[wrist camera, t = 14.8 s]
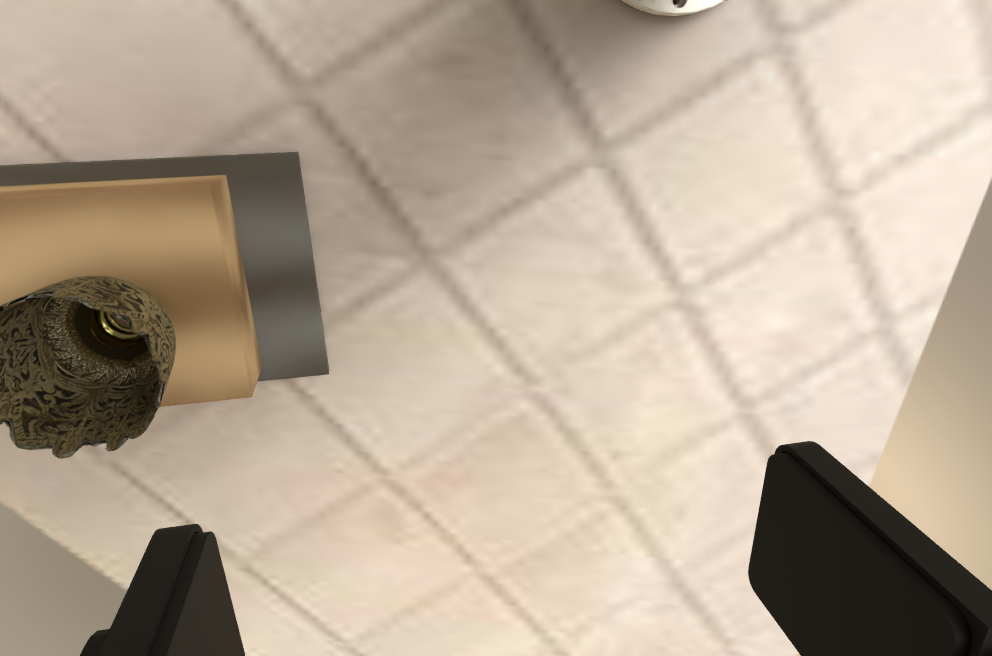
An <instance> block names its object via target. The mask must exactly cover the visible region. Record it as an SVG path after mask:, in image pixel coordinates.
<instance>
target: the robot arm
mask: <svg viewBox="0 0 992 656" xmlns="http://www.w3.org/2000/svg"><path fill="white" fill-rule="evenodd" d="M621 1H623V2H625V3H627V4H628V5H630V6H632V7H634V8H636V9H638V10H640V11H644V12H647V13H651V14H654V15H662V16H680V15H688V14H694V13H698V12H701V11H704V10H708V9H711V8H713V7H715V6H717V5H719V4H721V3H723V2H725V1H726V0H676V4H675V5H673V0H621ZM748 575H749V580H750V584H751V586H752V588H753V590H754V592H755V593H756V595H757V596H758V597H759V599H760V600H761V602H762V603H763V604H764V606H765V607H766V608H767V610H768V611H769V613H770V614H771V615H772V617H773V618H774V619H775V621H776V622H777V623H778V625H779V626H780V628H781V629H782V630H783V632H784V633H785V634H786V636H787V637H788V639H789V640H790V641H791V643H792V644H793V645H794V647H795V648H796V649H797V651H798V652H799V654H800V655H801V656H992V590H990V589H989V588H988V587H987V586H986V585H984V584H983V583H982V582H981V581H980V580H978V579H977V578H976V577H975V576H974V575H973V574H971V573H970V572H969V571H968V570H967V569H965V568H964V567H963V566H962V565H961V564H960V563H958V562H957V561H956V560H955V559H953V558H952V557H951V556H950V555H949V554H948V553H947V552H945V551H944V550H943V549H942V548H940V547H939V546H938V545H937V544H936V543H935V542H934V541H932V540H931V539H930V538H929V537H927V536H926V535H925V534H924V533H923V532H922V531H921V530H919V529H918V528H917V527H916V526H915V525H913V524H912V523H911V522H910V521H909V520H908V519H906V518H905V517H904V516H903V515H902V514H900V513H899V512H898V511H896V509H895V508H893V507H892V506H891V505H890V504H888V503H887V502H886V501H885V500H884V499H883V498H881V497H880V496H879V495H878V494H877V493H876V492H874V491H873V490H872V489H871V488H870V487H868V486H867V485H866V484H865V483H864V482H863V481H861V480H860V479H859V478H858V477H857V476H855V475H854V474H853V473H852V472H851V471H850V470H848V469H847V468H846V467H845V466H844V465H842V464H841V463H840V462H839V461H838V460H837V459H835V458H834V457H833V456H832V455H831V454H829V453H828V452H827V451H826V450H825V449H824V448H822V447H821V446H820V445H819V444H817V443H815V442H812V441H807V442H800V443H792V444H785V445H781V446H779V447H778V448H777V449H776V451H775V454H774V455H771V456H770V457H769V459H768V462H767V467H766V473H765V479H764V484H763V490H762V495H761V501H760V507H759V512H758V518H757V524H756V529H755V535H754V540H753V546H752V552H751V557H750V563H749V569H748ZM80 656H245V652H244V648H243V645H242V641H241V637H240V633H239V629H238V625H237V621H236V617H235V613H234V609H233V605H232V601H231V597H230V593H229V589H228V585H227V581H226V577H225V573H224V569H223V565H222V561H221V557H220V553H219V549H218V545H217V541H216V537H215V535H214V533H213V532H205V533H203V531H202V529H201V527H200V526H199V525H198V524H191V525H184V526H177V527H169V528H162V529H158V530H156V531H155V533H154V534H153V536H152V538H151V540H150V542H149V545H148V547H147V549H146V551H145V553H144V555H143V558H142V560H141V562H140V564H139V566H138V569H137V571H136V573H135V575H134V577H133V580H132V582H131V584H130V586H129V588H128V590H127V593H126V595H125V597H124V599H123V602H122V604H121V606H120V608H119V610H118V613H117V615H116V617H115V619H114V621H113V624H112V626H111V628H110V629H106V630H100V631H97V632H95V633H94V634H93V635H92V636H91V637H90V638H89V640H88V641H87V643H86V645H85V646H84V648H83V650H82V652H81V654H80Z"/></svg>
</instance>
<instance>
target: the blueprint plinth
mask: <svg viewBox="0 0 992 656" xmlns="http://www.w3.org/2000/svg"><path fill="white" fill-rule="evenodd" d="M84 276H107V277H113V278H118V279H121V280H125V281H128V282H130V283H133V284H135V285H137V286H139V287H141V288H142V289H144V290H146V291H147V292H148V293H150V294H151V295H152V296H153V297H154V298H155V299H157V300H158V302H159V303H160V304H161V305H162V306H163V308H164V309H165V310H166V312H167V314H168V315H169V317H170V320H171V322H172V324H173V327H174V331H175V337H176V352H175V359H174V363H173V367H172V371H171V374H170V377H169V380H168V383H167V386H166V389H165V391H164V394H163V397H162V402H161V406H160V407H162V406H171V405H181V404H190V403H200V402H209V401H219V400H228V399H238V398H247V397H252V394H253V391H254V388H255V386H256V383H257V381H266V380H276V379H286V378H296V377H305V376H315V375H325V374H329V366H328V359H327V352H326V345H325V338H324V331H323V324H322V317H321V310H320V303H319V296H318V289H317V282H316V275H315V268H314V261H313V253H312V246H311V239H310V232H309V225H308V218H307V211H306V204H305V197H304V190H303V183H302V176H301V169H300V162H299V155H298V152H288V153H266V154H244V155H222V156H200V157H178V158H156V159H133V160H111V161H89V162H67V163H45V164H23V165H1V166H0V306H2V305H3V304H5V303H7V302H9V301H11V300H14V299H16V298H19V297H22V296H25V295H27V294H29V293H31V292H34V291H36V290H39V289H41V288H43V287H46V286H49V285H51V284H54V283H57V282H60V281H63V280H67V279H71V278H76V277H84ZM112 317H113V319H114V320H115V321H116V322H117V323H118V324H119V325H121V326H123V327H127V328H129V327H128V323H127V322H126V321H124V320H122V319H119V318H116V317H114V316H113V315H112Z"/></svg>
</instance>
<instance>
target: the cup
mask: <svg viewBox="0 0 992 656" xmlns="http://www.w3.org/2000/svg"><path fill="white" fill-rule="evenodd" d="M112 315H113V316H114V317H116V318H119V319H122V320H124V321H126V322H127V323H128V327H129V328H127V327H123V326H121V325H119V324H118V323H117V322H116V321H115V320H114V319H113V317H112ZM175 352H176V337H175V331H174V327H173V324H172V322H171V320H170V317H169V315H168V314H167V312H166V310H165V309H164V308H163V306H162V305H161V304H160V303H159V302H158V300H157V299H155V298H154V297H153V296H152V295H151V294H150V293H148V292H147V291H146V290H144V289H142V288H141V287H139V286H137V285H135V284H133V283H130V282H128V281H125V280H121V279H118V278H113V277H107V276H84V277H76V278H71V279H67V280H63V281H60V282H57V283H54V284H51V285H49V286H46V287H43V288H41V289H39V290H36V291H34V292H31V293H29V294H27V295H25V296H22V297H19V298H16V299H14V300H11V301H9V302H7V303H5V304H3V305H2V306H0V422H4V423H5V422H6V423H5V424H6V425H7V426H8V427H9V430H10V437H11V439H12V441H13V442H14V444H15V445H16V446H17V447H18V448H21V449H28V450H37V449H51V448H53V449H52V452H53V455H54V456H56V457H58V458H67V457H70V456H72V455H73V454H74V453H75V452H76V451H77V450H78V449H79V448H81V447H82V446H84V445H91V446H93V447H96V446H98V445H100V444H102V443H107V445H106V446H107V448H105V449H106V450H107V451H114V450H117V449H118V448H120V447H121V446H122V445H123V444H124V443H125V442H126V441H127V439H134V438H137V437H139V436H140V435H142V434H143V433H144V432H145V431H146V429H147V428H148V426H149V425H150V423H151V421H152V420H153V418H154V416H155V413H156V411H157V409H158V407H160V406H161V402H162V397H163V394H164V391H165V389H166V386H167V383H168V380H169V377H170V374H171V371H172V367H173V363H174V359H175ZM0 424H3V423H0Z"/></svg>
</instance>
